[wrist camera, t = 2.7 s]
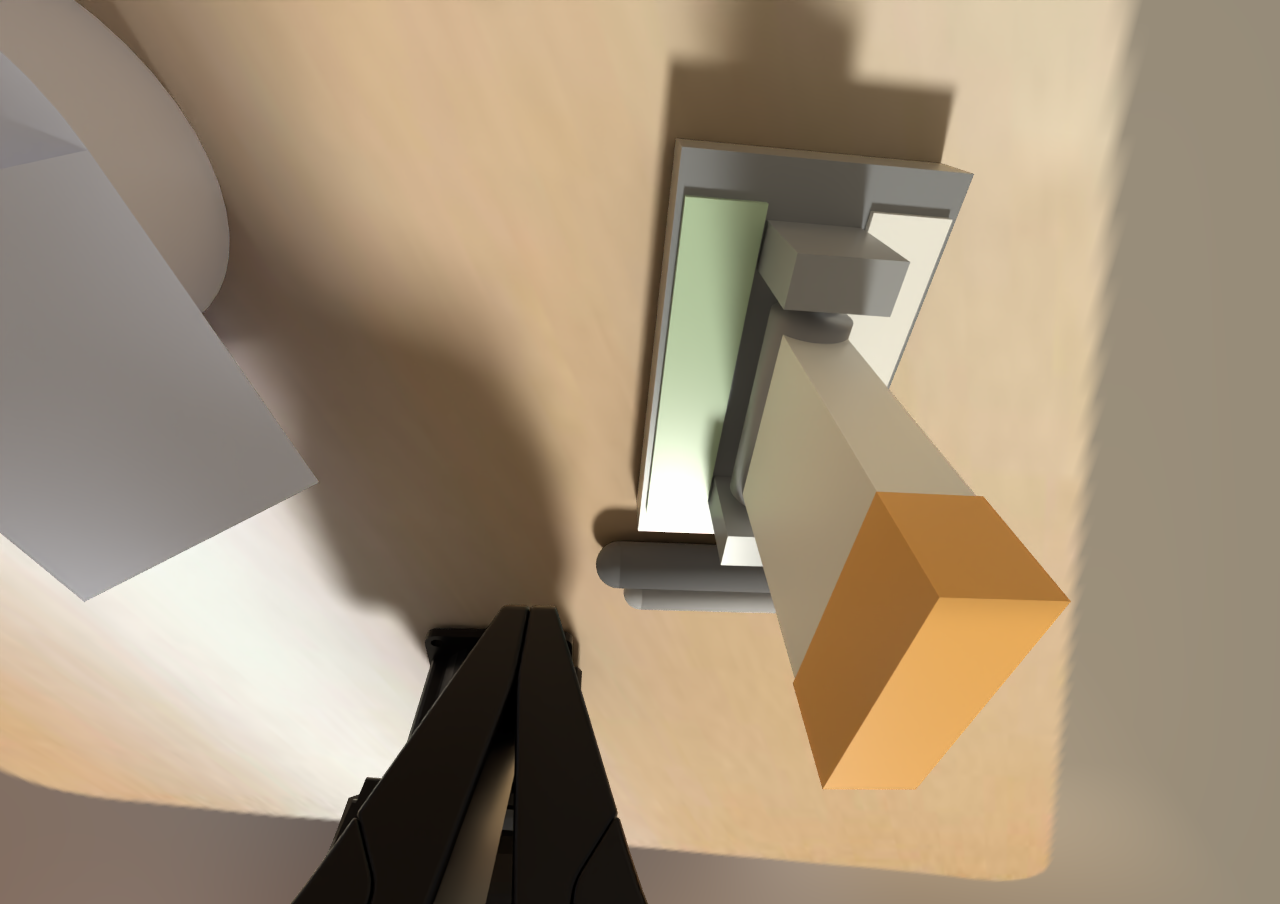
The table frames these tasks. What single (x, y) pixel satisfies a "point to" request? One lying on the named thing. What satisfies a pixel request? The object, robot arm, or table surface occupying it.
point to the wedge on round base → (115, 316)
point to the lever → (876, 561)
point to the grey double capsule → (682, 578)
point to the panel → (772, 300)
